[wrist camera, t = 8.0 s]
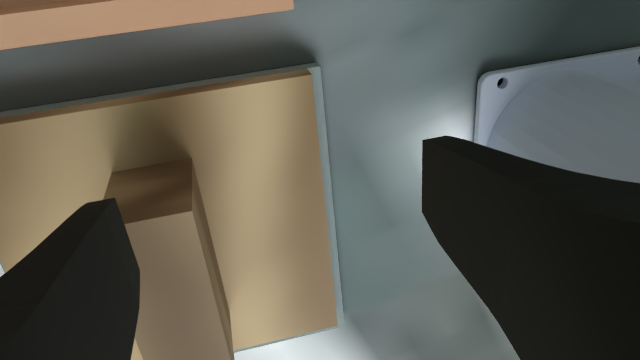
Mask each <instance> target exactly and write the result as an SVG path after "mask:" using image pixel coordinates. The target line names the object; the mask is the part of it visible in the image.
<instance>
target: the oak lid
mask: <svg viewBox="0 0 640 360" xmlns="http://www.w3.org/2000/svg"><path fill="white" fill-rule="evenodd" d="M110 198H115V199H116V202H117V205H118V207H119V210H120V213H121V216H122V219H123V222H124V225H125V228H126V231H127V234H128V237H129V240H130V242H131V245H132V248H133V251H134V254H135V257H136V260H137V263H138V266H139V269H140V305H139V314H138V320H137V326H136V332H135V338H134V344H133V350H132V355H131V360H234V352H233V351H234V350H239V349H243V348H247V347H251V346H255V345H259V344H263V343H268V342H272V341H276V340H280V339H284V338H288V337H293V336H297V335H301V334H305V333H309V332H313V331H317V330H322V329H326V328H330V327H334V326H338V324H337V314H336V305H335V295H334V285H333V276H332V266H331V256H330V247H329V237H328V227H327V218H326V208H325V198H324V189H323V179H322V169H321V159H320V150H319V140H318V130H317V121H316V111H315V101H314V92H313V82H312V74H311V73H310V72H309V70H308V69H304V70H298V71H291V72H285V73H279V74H272V75H266V76H260V77H253V78H247V79H241V80H234V81H228V82H222V83H215V84H209V85H203V86H197V87H190V88H184V89H178V90H171V91H165V92H159V93H152V94H146V95H140V96H133V97H127V98H121V99H114V100H108V101H102V102H95V103H89V104H83V105H76V106H70V107H64V108H57V109H51V110H45V111H38V112H32V113H26V114H19V115H13V116H7V117H0V261H1V263H2V265H3V267H4V269H5V271H6V272H7V271H8V270H10V269H11V268H12V267H13V266H14V265H16V264H17V263H18V262H19V261H20V260H22V259H23V258H24V257H25V256H26V255H28V254H29V253H30V252H31V251H32V250H33V249H34V248H36V247H37V246H38V245H39V244H40V243H41V242H42V241H43V240H44V239H45V238H47V237H48V236H49V235H50V234H51V233H52V232H53V231H54V230H55V229H56V228H58V227H59V226H60V225H61V224H62V223H63V222H64V221H65V220H66V219H67V218H68V217H70V216H71V215H72V214H73V213H74V212H75V211H76V210H78V209H79V208H80V207H81V206H83V205H84V204H86V203H88V202H94V201H99V200H104V199H110Z"/></svg>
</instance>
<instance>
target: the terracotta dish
mask: <svg viewBox="0 0 640 360" xmlns="http://www.w3.org/2000/svg"><path fill="white" fill-rule="evenodd" d="M293 9H294V4H293V0H0V50H3V49H11V48H18V47H25V46H32V45H40V44H47V43H54V42H61V41H69V40H76V39H83V38H90V37H98V36H105V35H112V34H119V33H126V32H134V31H141V30H148V29H155V28H163V27H170V26H177V25H184V24H192V23H199V22H206V21H213V20H221V19H228V18H235V17H242V16H249V15H257V14H264V13H271V12H278V11H286V10H293Z"/></svg>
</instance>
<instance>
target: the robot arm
mask: <svg viewBox="0 0 640 360" xmlns="http://www.w3.org/2000/svg"><path fill="white" fill-rule="evenodd" d="M639 56H640V46H639V47H633V48H627V49H621V50H615V51H609V52H603V53H597V54H591V55H585V56H579V57H573V58H567V59H561V60H555V61H549V62H543V63H538V64H532V65H526V66H520V67H514V68H508V69H502V70H496V71H490V72H487V73H484V74H483V75H482V76H481V77H480V79H479V81H478V85H477V100H476V116H475V131H474V142H471V141H467V140H464V139H460V138H456V137H451V136H442V137H437V138H431V139H426V140H423V150H422V213H423V215H424V216H425V218H426V220H427V222H428V224H429V226H430V228H431V230H432V232H433V233H434V235H435V237H436V239H437V241H438V242H439V244H440V245H441V246H442V248H443V249H444V251H445V252H446V253H447V255H448V256H449V257H450V259H451V260H452V261H453V263H454V264H455V265H456V267H457V268H458V269H459V270H460V272H461V273H462V274H463V276H464V277H465V278H466V280H467V281H468V282H469V284H470V285H471V286H472V287H473V289H474V290H475V291H476V293H477V294H478V295H479V297H480V298H481V299H482V301H483V302H484V303H485V304H486V306H487V307H488V308H489V310H490V311H491V313H492V314H493V316H494V317H495V319H496V320H497V321H498V323H499V324H500V326H501V328H502V329H503V331H504V333H505V334H506V336H507V338H508V339H509V341H510V343H511V344H512V346H513V348H514V349H515V351H516V353H517V354H518V356H519V358H520V360H640V59H639V60H638V58H639ZM500 78H503V82H502V84H501V85H500V86H497V83H498V81H499V79H500ZM139 305H140V269H139V266H138V263H137V260H136V257H135V254H134V251H133V248H132V245H131V242H130V240H129V237H128V234H127V231H126V228H125V225H124V222H123V219H122V216H121V213H120V210H119V207H118V205H117V202H116V199H115V198H110V199H104V200H99V201H94V202H88V203H86V204H84V205H83V206H81V207H80V208H79V209H78V210H76V211H75V212H74V213H73V214H72V215H71V216H70V217H68V218H67V219H66V220H65V221H64V222H63V223H62V224H61V225H60V226H59V227H58V228H56V229H55V230H54V231H53V232H52V233H51V234H50V235H49V236H48V237H47V238H45V239H44V240H43V241H42V242H41V243H40V244H39V245H38V246H37V247H36V248H34V249H33V250H32V251H31V252H30V253H29V254H28V255H26V256H25V257H24V258H23V259H22V260H20V261H19V262H18V263H17V264H16V265H14V266H13V267H12V268H11V269H10V270H8V271H7V272H6V273H5V274H4V275H2V276H1V277H0V360H131V355H132V350H133V344H134V338H135V332H136V326H137V320H138V314H139Z"/></svg>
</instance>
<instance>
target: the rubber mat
mask: <svg viewBox="0 0 640 360" xmlns="http://www.w3.org/2000/svg"><path fill="white" fill-rule="evenodd" d="M304 69H308V70H309V72H310V73H311V74H312V82H313V92H314V101H315V111H316V121H317V130H318V140H319V150H320V159H321V169H322V179H323V189H324V198H325V208H326V218H327V227H328V237H329V247H330V256H331V266H332V276H333V285H334V295H335V305H336V314H337V324H338V326H334V327H330V328H326V329H322V330H317V331H313V332H309V333H305V334H301V335H297V336H293V337H288V338H284V339H280V340H276V341H272V342H268V343H263V344H259V345H255V346H251V347H247V348H243V349H239V350H234V351H233V352H234V353H235V352H239V351H243V350H247V349H251V348H255V347H260V346H264V345H268V344H272V343H276V342H280V341H285V340H289V339H293V338H297V337H301V336H305V335H309V334H314V333H318V332H322V331H326V330H330V329H334V328H338V327H343V326H344V316H343V305H342V294H341V283H340V273H339V262H338V251H337V241H336V230H335V219H334V209H333V198H332V187H331V176H330V166H329V155H328V144H327V134H326V123H325V112H324V102H323V91H322V80H321V69H320V65H319V64H318V63H317V62H316V63H310V64H303V65H297V66H291V67H284V68H278V69H271V70H265V71H258V72H252V73H246V74H239V75H233V76H226V77H220V78H214V79H207V80H201V81H194V82H188V83H181V84H175V85H169V86H162V87H156V88H149V89H143V90H137V91H130V92H124V93H117V94H111V95H105V96H98V97H92V98H85V99H79V100H72V101H66V102H60V103H53V104H47V105H40V106H34V107H28V108H21V109H15V110H8V111H2V112H0V117H7V116H13V115H19V114H26V113H32V112H38V111H45V110H51V109H57V108H64V107H70V106H76V105H83V104H89V103H95V102H102V101H108V100H114V99H121V98H127V97H133V96H140V95H146V94H152V93H159V92H165V91H171V90H178V89H184V88H190V87H197V86H203V85H209V84H215V83H222V82H228V81H234V80H241V79H247V78H253V77H260V76H266V75H272V74H279V73H285V72H291V71H298V70H304ZM0 264H1V266H2V268H3V270H4V272H5V273H6V271H5V269H4V267H3V265H2V263H1V261H0Z"/></svg>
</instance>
